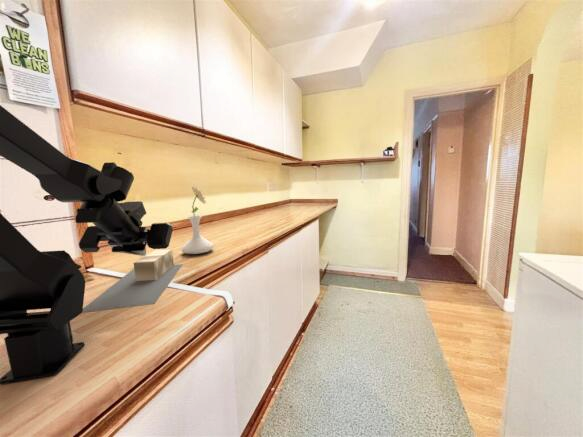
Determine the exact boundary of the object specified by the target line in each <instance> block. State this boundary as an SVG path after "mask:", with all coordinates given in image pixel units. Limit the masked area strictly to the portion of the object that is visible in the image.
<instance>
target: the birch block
mask: <svg viewBox="0 0 583 437" xmlns="http://www.w3.org/2000/svg"><path fill="white" fill-rule="evenodd" d="M173 253H174V252H173V249H172V248H171V249H154V250H153V251H151V252H150V253H148V254H146V255H145V256H143V257H140V258H139V259H138V260H136V261H134V262H133V269H134V270H135V278H136V281H146V280H156V279H157V278H159V277H160V276H161V275H162V274H163V273H165V272H166V271H167V270H168V269H169V268H171V267H172V266H173V265H175V264H174V254H173Z"/></svg>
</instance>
